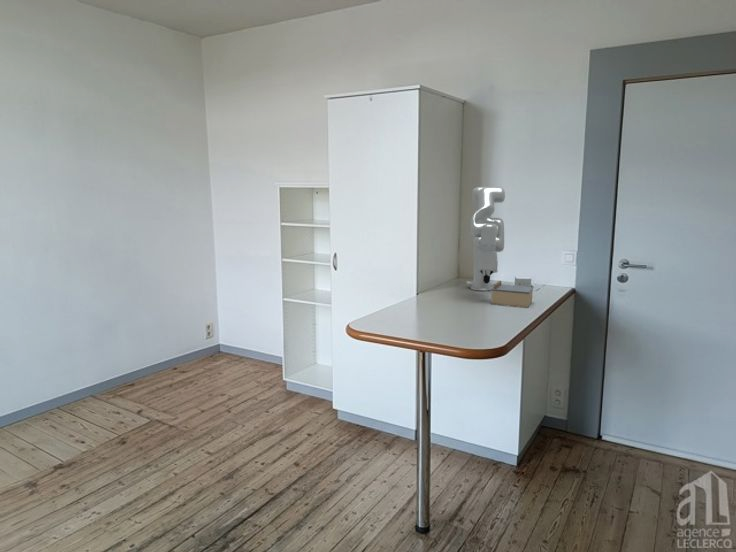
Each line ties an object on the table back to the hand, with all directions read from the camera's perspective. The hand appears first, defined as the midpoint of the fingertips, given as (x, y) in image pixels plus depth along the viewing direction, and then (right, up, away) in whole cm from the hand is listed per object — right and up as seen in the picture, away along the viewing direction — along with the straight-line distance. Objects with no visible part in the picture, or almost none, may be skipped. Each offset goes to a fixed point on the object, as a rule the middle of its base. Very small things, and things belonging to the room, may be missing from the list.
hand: (486, 283), depth 265 cm
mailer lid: (+12, -3, -5) cm, 14 cm away
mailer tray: (+12, -10, -4) cm, 16 cm away
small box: (+23, -8, +13) cm, 27 cm away
